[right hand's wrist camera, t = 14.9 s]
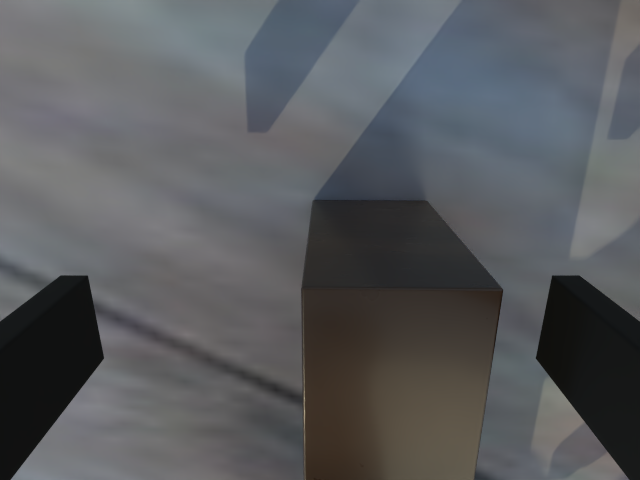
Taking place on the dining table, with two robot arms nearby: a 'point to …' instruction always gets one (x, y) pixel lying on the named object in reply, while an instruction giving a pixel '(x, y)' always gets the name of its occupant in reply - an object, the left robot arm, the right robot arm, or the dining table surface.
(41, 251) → the dining table surface
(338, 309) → the walnut plank
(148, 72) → the dining table surface
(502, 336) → the dining table surface
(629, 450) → the right robot arm
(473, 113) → the dining table surface
